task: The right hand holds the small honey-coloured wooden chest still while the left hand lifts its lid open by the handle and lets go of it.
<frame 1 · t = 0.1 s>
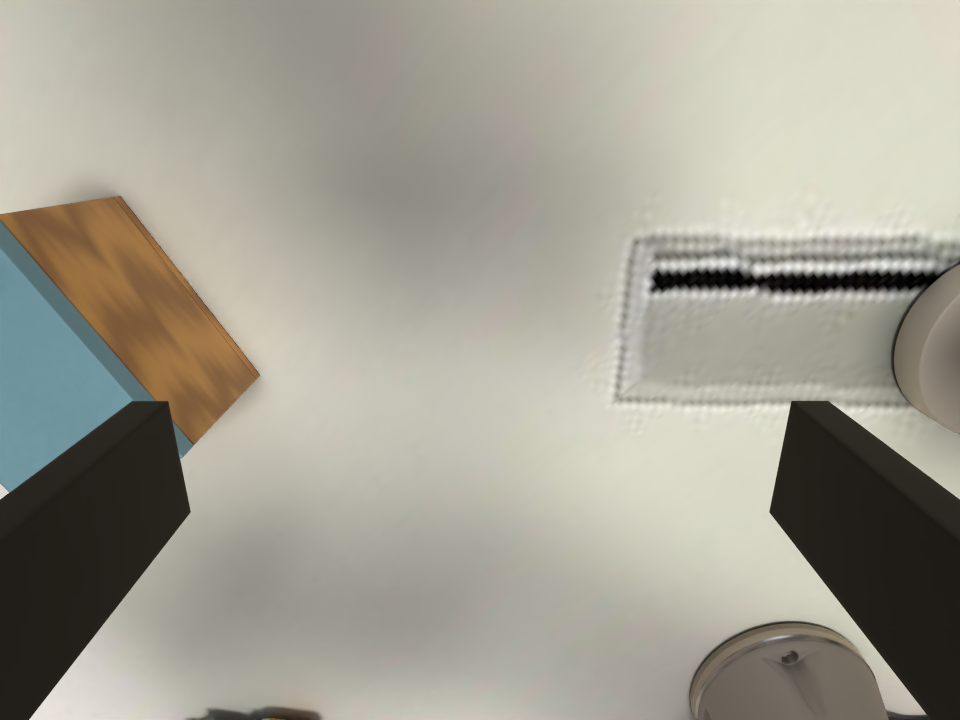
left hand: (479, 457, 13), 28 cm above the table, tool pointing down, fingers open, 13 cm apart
chest: (140, 324, 41), on the table
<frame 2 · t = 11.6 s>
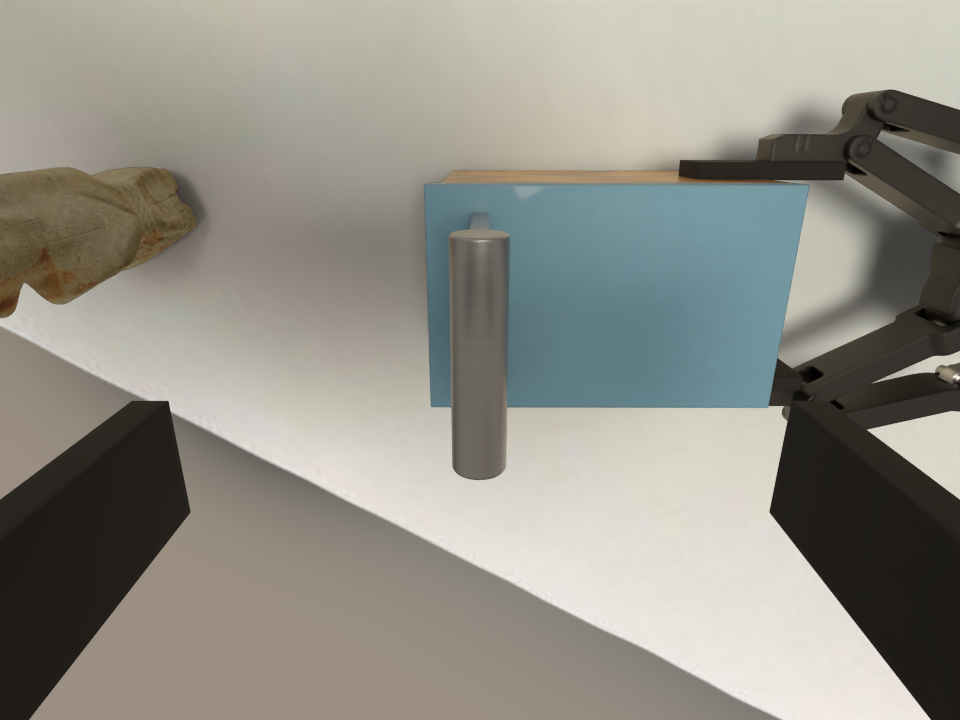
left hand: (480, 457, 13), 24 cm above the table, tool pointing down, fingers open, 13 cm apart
right hand: (675, 278, 29), fingers closed on chest, 9 cm apart
sculpture: (148, 214, 35), on the table
lid: (624, 325, 22), point 15 cm above the table, hinge at 0.0°
chest: (573, 253, 36), on the table, touching right hand
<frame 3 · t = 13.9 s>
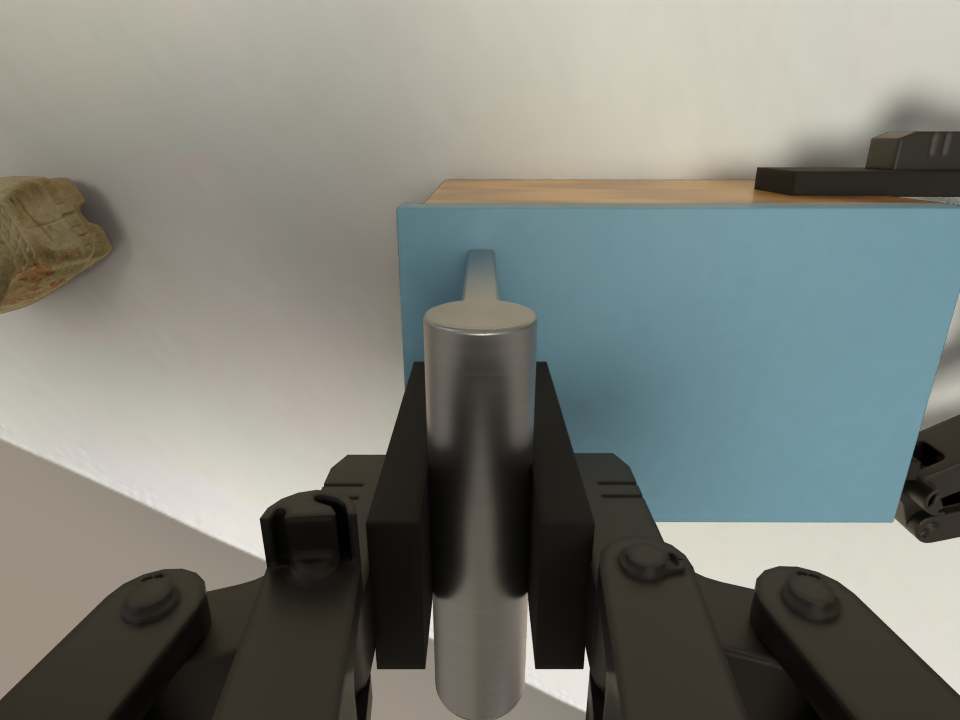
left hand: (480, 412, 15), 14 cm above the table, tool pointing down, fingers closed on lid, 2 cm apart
sculpture: (50, 236, 27), on the table
lid: (708, 431, 14), point 15 cm above the table, hinge at -0.1°, touching left hand
chest: (600, 285, 28), on the table, touching right hand
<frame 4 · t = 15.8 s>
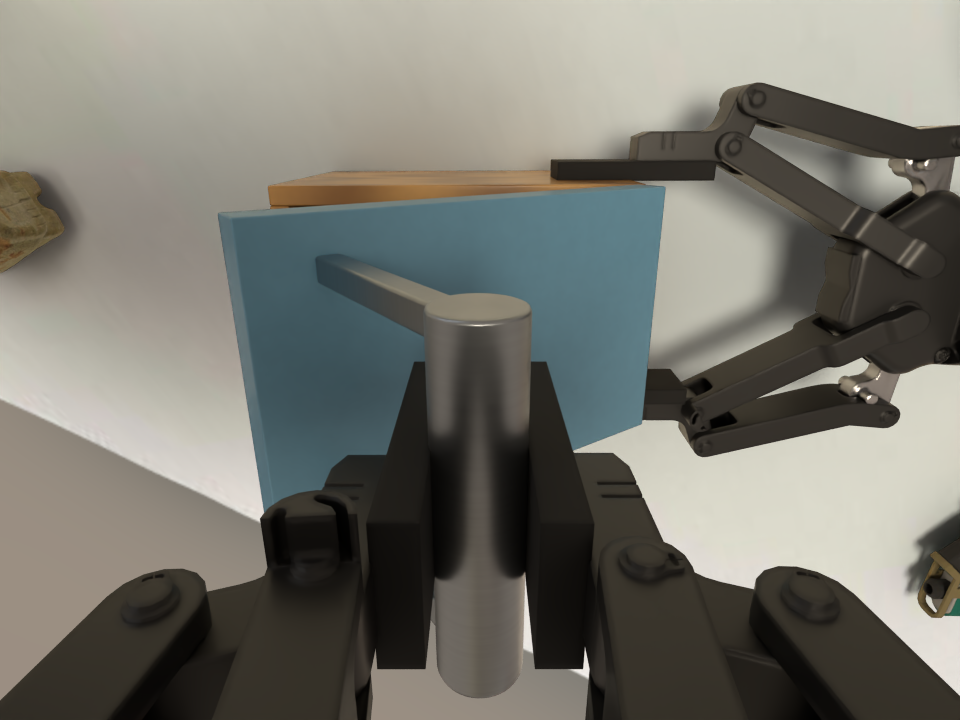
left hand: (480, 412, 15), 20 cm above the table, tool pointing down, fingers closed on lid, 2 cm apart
right hand: (549, 285, 28), fingers closed on chest, 9 cm apart
sculpture: (15, 219, 33), on the table
lid: (563, 382, 17), point 18 cm above the table, hinge at 35.1°, touching left hand
chest: (465, 258, 34), on the table, touching right hand
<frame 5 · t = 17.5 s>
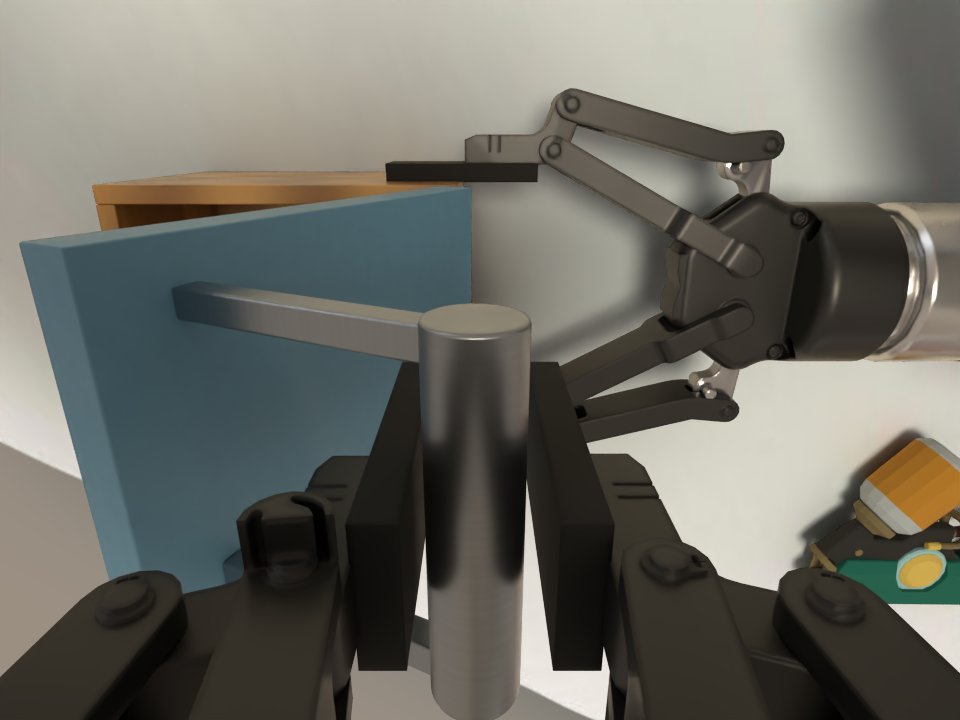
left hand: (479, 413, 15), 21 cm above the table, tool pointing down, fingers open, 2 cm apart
right hand: (396, 282, 28), fingers closed on chest, 9 cm apart
spray gun: (928, 524, 41), on the table
lid: (448, 386, 17), point 19 cm above the table, hinge at 63.5°
chest: (341, 256, 35), on the table, touching right hand
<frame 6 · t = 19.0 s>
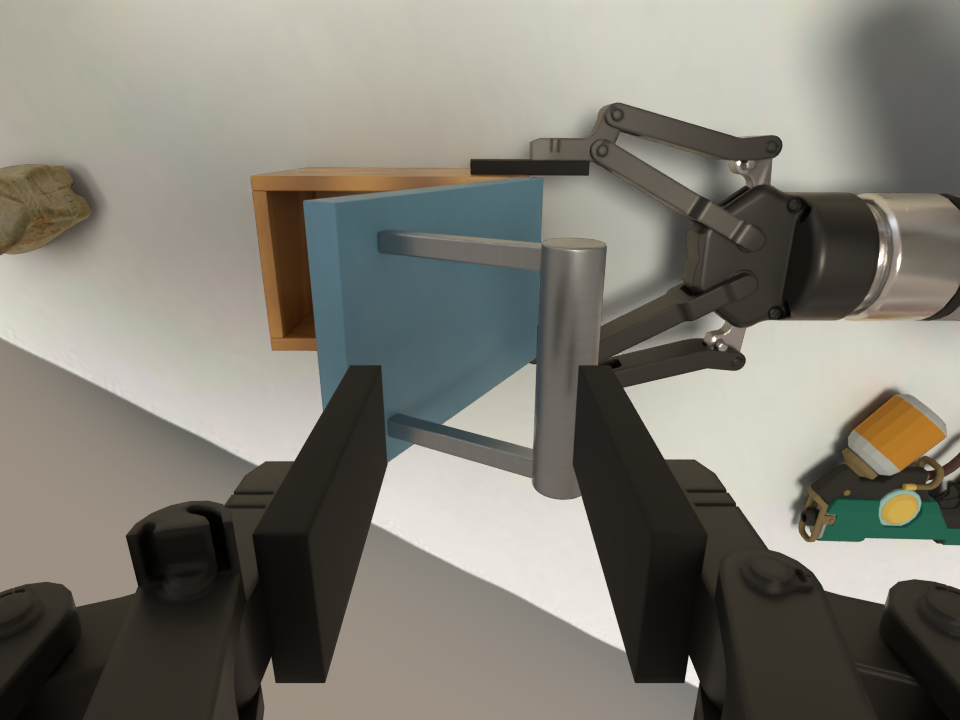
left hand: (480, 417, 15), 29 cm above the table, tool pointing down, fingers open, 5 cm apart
right hand: (471, 256, 36), fingers closed on chest, 9 cm apart
sculpture: (51, 205, 41), on the table
spray gun: (906, 471, 48), on the table
lid: (533, 314, 24), point 19 cm above the table, hinge at 60.3°
chest: (414, 238, 42), on the table, touching right hand
when the right hand's fingers open (7 cm above the table, at t = 21.4 s): chest stays where it is, on the table.
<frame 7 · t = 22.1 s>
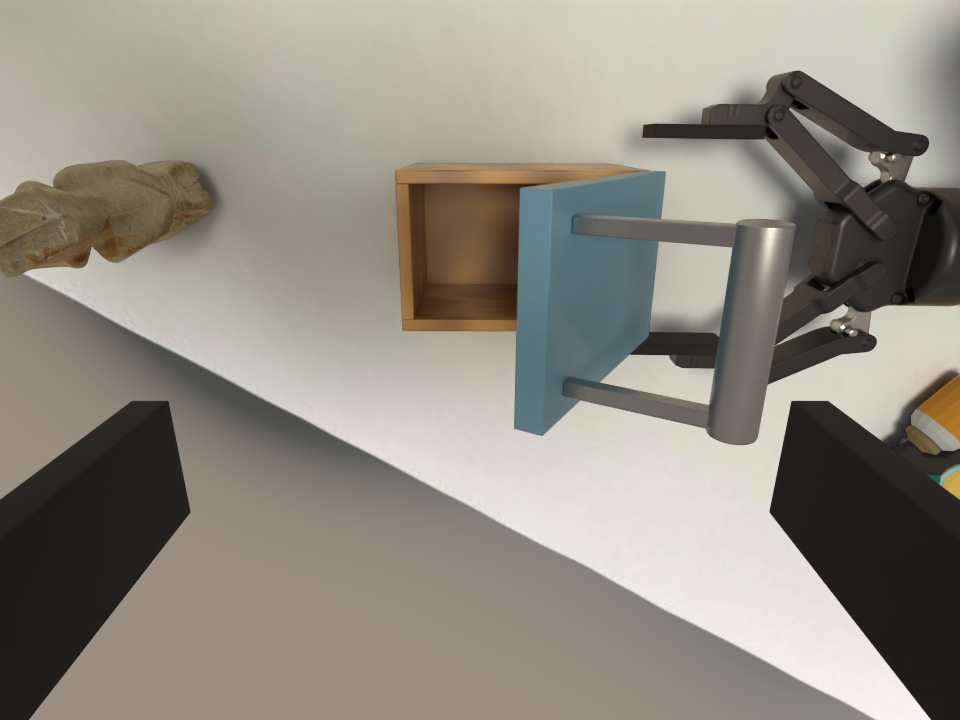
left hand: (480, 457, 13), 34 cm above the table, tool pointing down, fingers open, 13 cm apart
right hand: (635, 243, 38), fingers open, 13 cm apart
sculpture: (174, 199, 44), on the table
lid: (681, 291, 27), point 19 cm above the table, hinge at 59.2°
chest: (512, 229, 45), on the table
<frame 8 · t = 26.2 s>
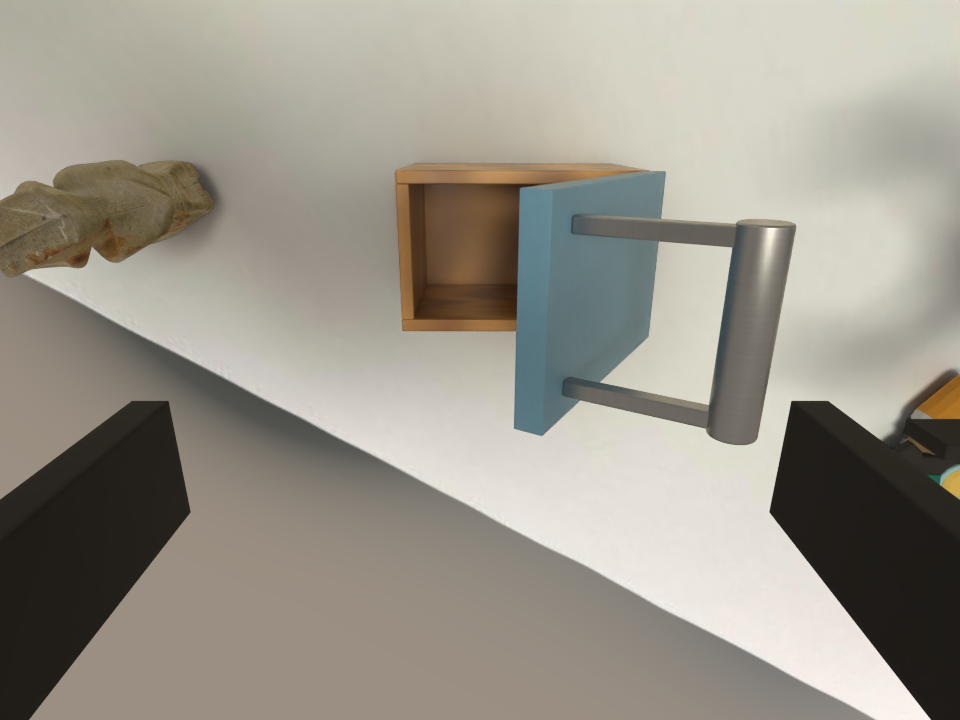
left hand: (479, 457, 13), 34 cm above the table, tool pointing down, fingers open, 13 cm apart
sculpture: (174, 199, 44), on the table
lid: (680, 291, 27), point 19 cm above the table, hinge at 59.2°
chest: (512, 229, 45), on the table
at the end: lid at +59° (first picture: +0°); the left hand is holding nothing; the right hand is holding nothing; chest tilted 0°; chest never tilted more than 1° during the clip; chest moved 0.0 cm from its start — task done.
